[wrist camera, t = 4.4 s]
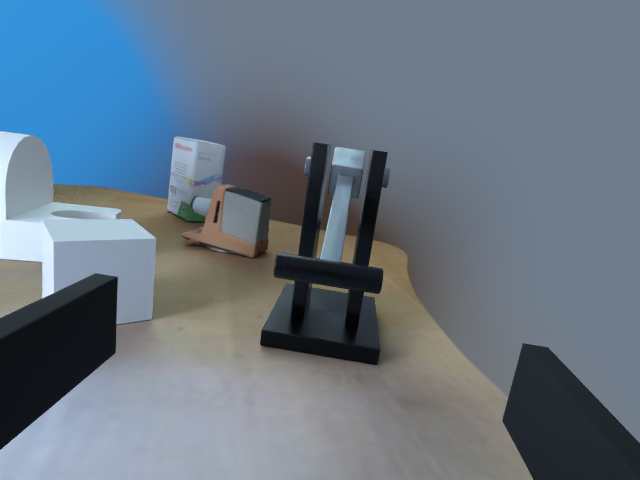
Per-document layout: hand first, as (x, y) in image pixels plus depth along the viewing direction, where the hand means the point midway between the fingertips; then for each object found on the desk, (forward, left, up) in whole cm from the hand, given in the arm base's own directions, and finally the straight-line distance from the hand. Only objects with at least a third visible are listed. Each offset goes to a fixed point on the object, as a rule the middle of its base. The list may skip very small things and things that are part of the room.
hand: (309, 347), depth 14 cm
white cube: (+21, +7, -8) cm, 23 cm away
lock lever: (+12, -7, +1) cm, 14 cm away
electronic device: (+38, -6, -8) cm, 39 cm away
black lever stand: (+16, -9, -7) cm, 20 cm away
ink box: (+56, -5, -8) cm, 57 cm away
